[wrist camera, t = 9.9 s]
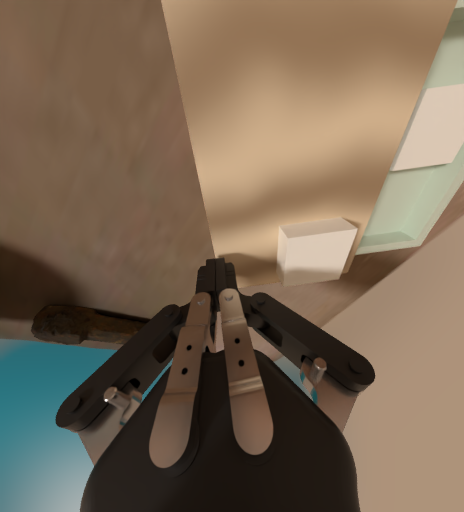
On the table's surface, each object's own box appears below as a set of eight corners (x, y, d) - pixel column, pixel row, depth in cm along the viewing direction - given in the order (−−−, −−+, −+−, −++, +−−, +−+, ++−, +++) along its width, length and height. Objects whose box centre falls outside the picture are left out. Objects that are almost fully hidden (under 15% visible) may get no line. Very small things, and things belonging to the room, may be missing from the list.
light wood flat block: (178, 37, 11) (157, -18, 7) (382, 9, 11) (482, -63, 7) (220, 260, 21) (222, 290, 17) (322, 246, 22) (347, 272, 18)
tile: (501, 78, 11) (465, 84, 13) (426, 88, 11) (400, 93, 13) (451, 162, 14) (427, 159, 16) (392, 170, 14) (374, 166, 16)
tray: (398, 7, 11) (440, -21, 9) (538, -12, 11) (612, -44, 9) (330, 244, 22) (342, 256, 20) (400, 235, 22) (420, 245, 20)
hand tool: (185, 323, 29) (181, 351, 26) (177, 335, 31) (172, 362, 27) (48, 290, 22) (15, 322, 19) (48, 308, 24) (18, 340, 21)
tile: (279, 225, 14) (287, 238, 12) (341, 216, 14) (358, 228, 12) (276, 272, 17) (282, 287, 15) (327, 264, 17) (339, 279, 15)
